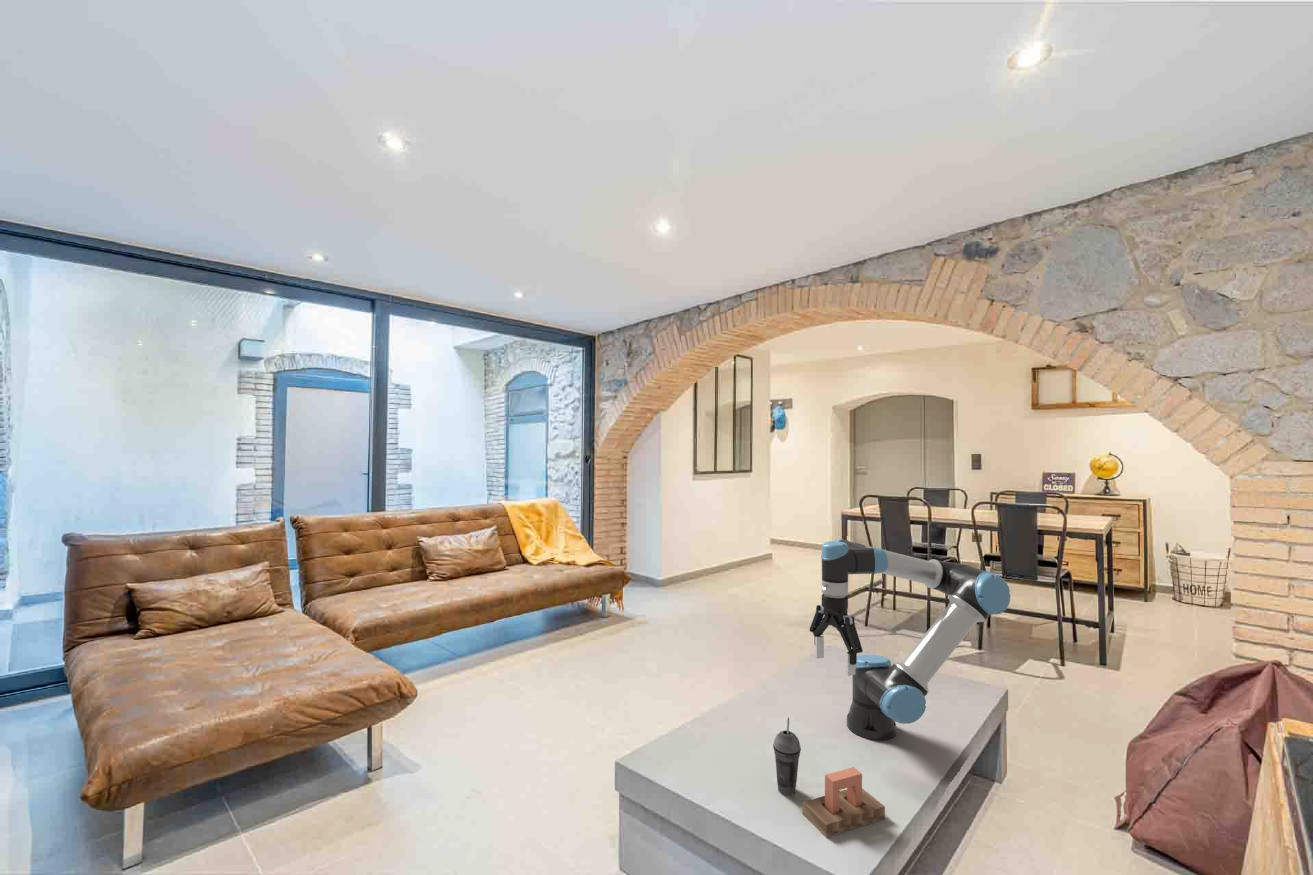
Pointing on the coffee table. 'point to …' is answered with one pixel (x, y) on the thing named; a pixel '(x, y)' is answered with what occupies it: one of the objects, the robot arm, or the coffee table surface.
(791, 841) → the coffee table surface
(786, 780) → the beverage cup
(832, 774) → the block
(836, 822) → the slotted wooden board
